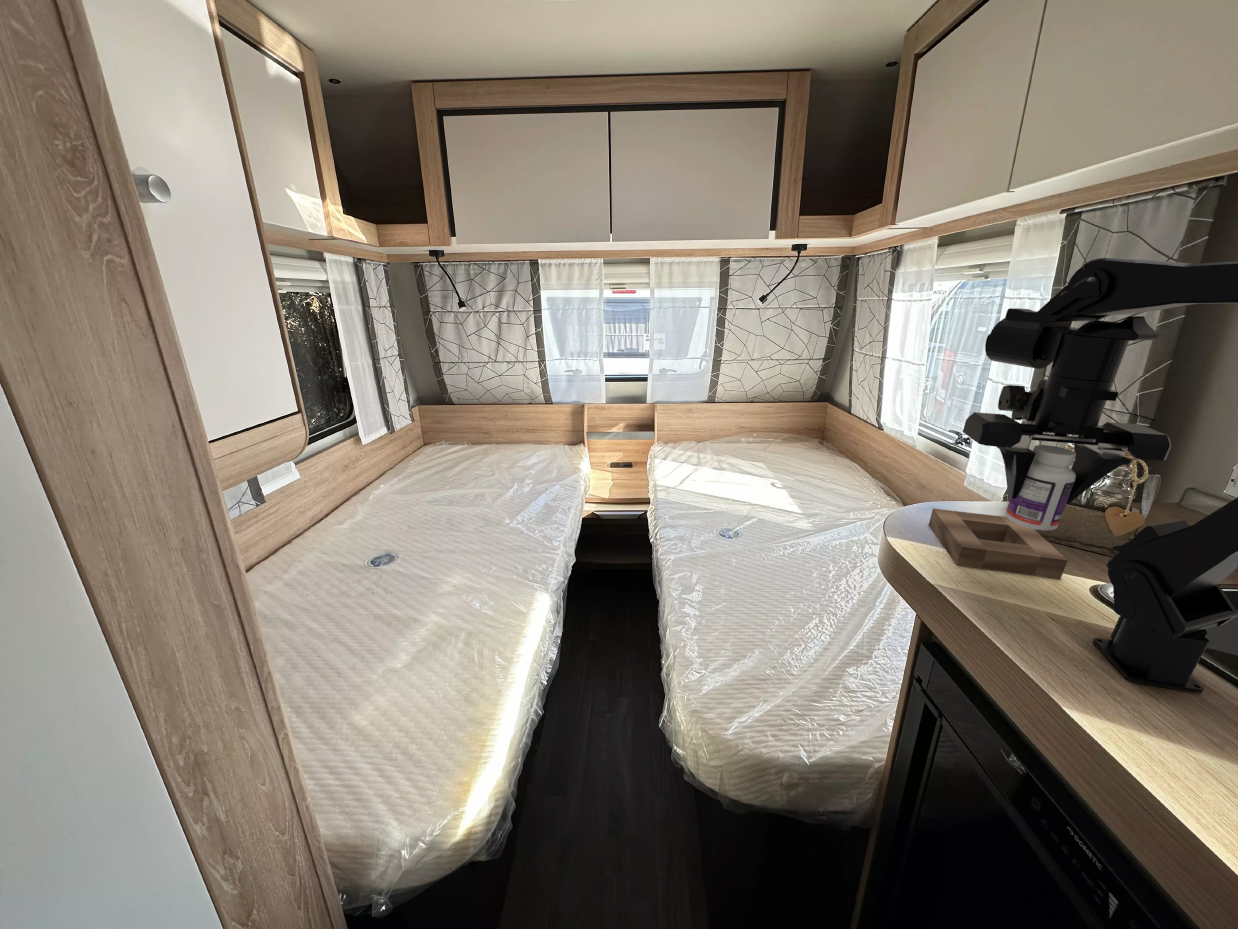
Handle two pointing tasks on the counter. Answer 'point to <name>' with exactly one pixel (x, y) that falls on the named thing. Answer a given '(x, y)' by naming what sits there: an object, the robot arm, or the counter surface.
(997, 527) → the walnut holder
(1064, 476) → the pill bottle
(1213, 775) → the counter surface
